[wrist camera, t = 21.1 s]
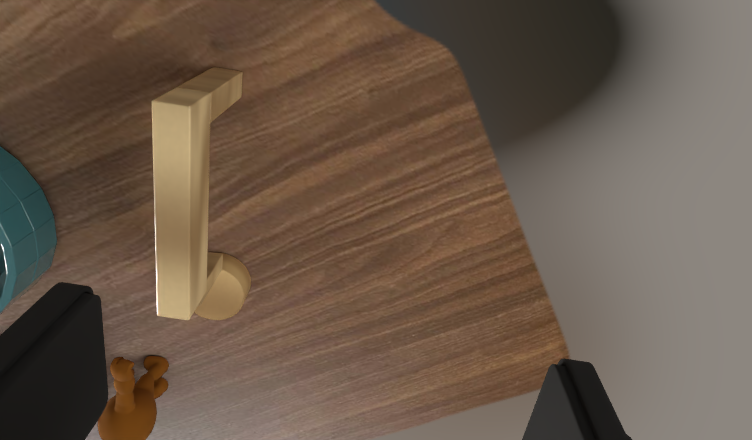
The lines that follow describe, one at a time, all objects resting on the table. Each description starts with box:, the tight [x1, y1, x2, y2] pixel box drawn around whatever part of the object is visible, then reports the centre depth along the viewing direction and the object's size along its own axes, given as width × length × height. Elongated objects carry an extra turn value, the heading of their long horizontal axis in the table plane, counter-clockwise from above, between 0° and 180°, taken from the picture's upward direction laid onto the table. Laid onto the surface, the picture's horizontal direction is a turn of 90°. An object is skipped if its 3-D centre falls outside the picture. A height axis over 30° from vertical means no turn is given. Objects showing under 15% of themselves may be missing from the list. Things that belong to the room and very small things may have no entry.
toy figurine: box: [98, 356, 169, 440], centre depth 40 cm, size 12×4×7 cm, turn 169°
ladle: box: [152, 67, 251, 320], centre depth 32 cm, size 17×4×9 cm, turn 171°
